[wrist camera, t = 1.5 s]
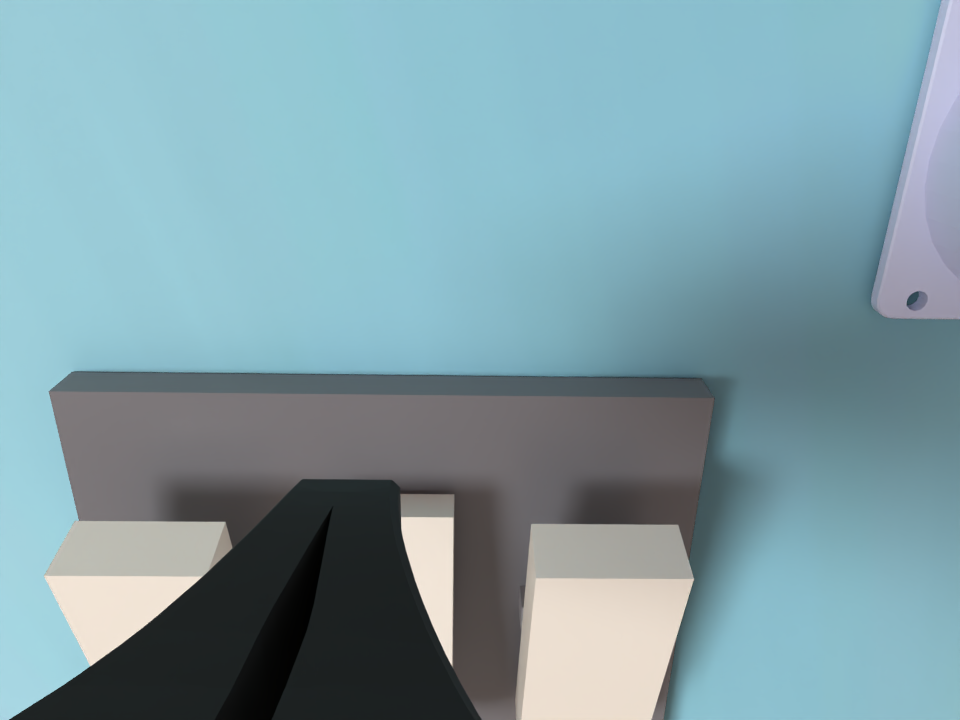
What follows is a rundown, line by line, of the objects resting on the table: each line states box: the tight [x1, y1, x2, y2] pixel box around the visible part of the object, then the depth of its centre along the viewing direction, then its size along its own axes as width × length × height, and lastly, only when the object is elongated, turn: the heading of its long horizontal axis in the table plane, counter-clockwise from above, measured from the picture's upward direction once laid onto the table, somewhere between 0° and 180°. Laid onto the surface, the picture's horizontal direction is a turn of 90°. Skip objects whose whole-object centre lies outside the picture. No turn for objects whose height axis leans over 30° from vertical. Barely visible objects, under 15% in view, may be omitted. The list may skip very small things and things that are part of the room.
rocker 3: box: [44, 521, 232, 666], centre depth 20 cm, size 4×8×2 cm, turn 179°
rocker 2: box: [400, 494, 454, 667], centre depth 20 cm, size 4×8×2 cm, turn 179°
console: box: [49, 372, 715, 720], centre depth 22 cm, size 17×13×2 cm
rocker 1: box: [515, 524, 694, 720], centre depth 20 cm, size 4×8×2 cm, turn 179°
